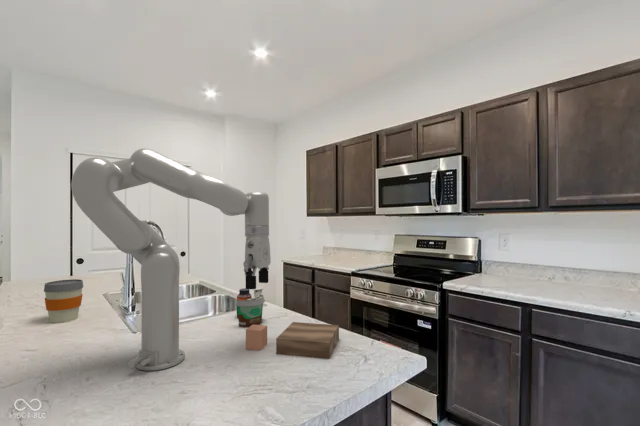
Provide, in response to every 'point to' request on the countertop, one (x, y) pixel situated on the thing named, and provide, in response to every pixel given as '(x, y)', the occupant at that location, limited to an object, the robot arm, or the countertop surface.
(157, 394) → the countertop surface
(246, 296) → the supplement bottle
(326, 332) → the walnut block
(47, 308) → the reusable coffee cup
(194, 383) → the countertop surface
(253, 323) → the food container
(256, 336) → the terracotta block
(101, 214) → the robot arm
